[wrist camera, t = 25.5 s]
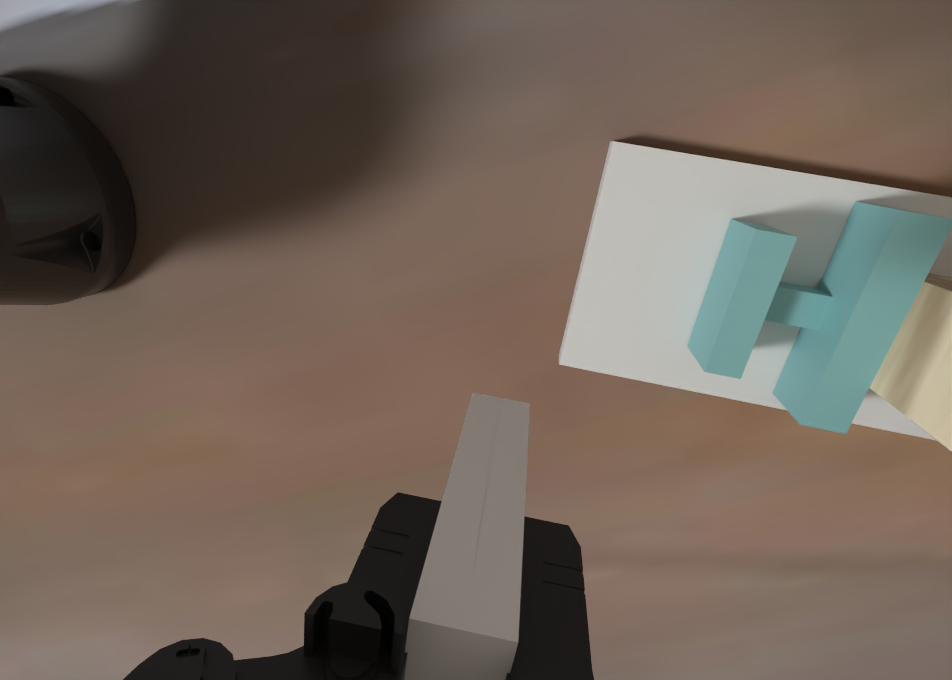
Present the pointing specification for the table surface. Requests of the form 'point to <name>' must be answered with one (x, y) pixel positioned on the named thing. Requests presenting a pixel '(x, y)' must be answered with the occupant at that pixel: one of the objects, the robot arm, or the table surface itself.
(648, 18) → the table surface
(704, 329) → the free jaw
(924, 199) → the bed
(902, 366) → the birch block
